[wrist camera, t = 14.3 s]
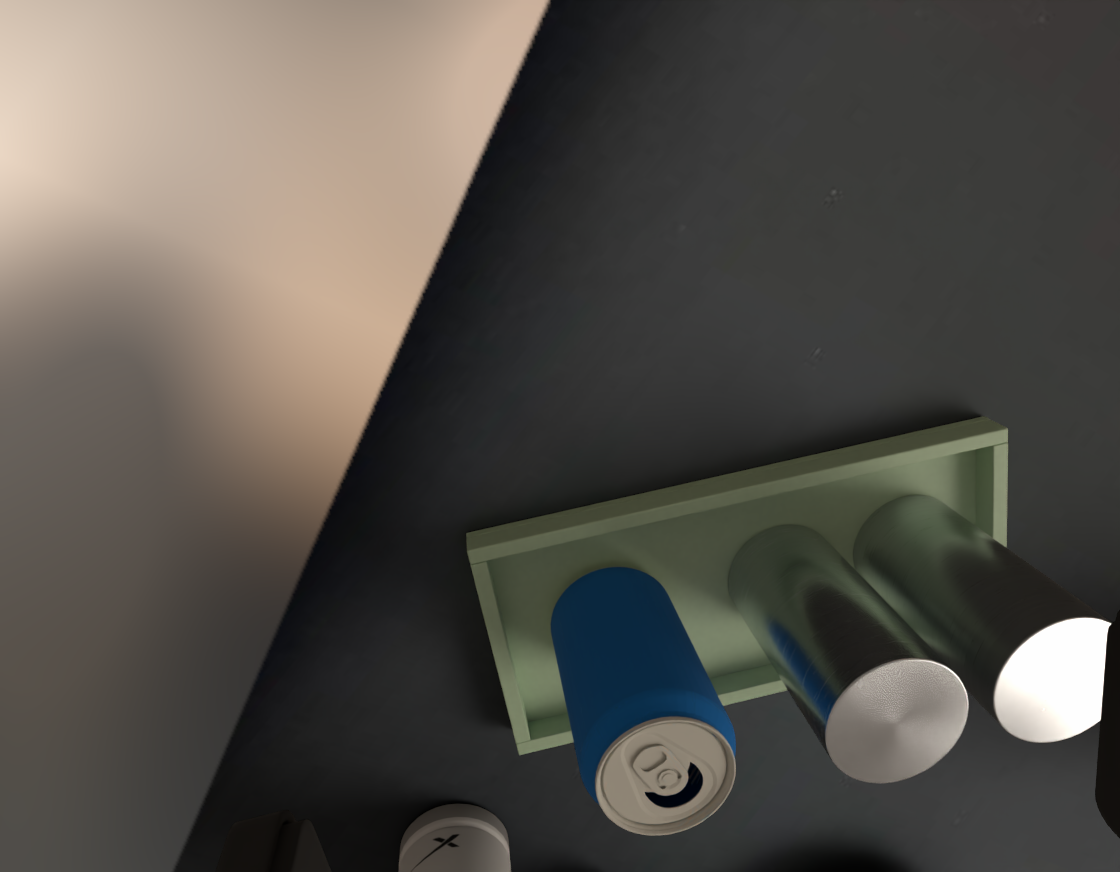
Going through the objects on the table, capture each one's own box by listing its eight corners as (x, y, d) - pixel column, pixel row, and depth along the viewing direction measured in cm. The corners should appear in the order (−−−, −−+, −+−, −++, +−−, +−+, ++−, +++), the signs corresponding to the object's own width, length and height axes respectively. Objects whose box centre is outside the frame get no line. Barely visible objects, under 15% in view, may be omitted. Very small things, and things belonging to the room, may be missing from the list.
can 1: (721, 537, 42) (820, 679, 31) (831, 512, 42) (969, 643, 31) (733, 633, 44) (830, 799, 33) (838, 609, 44) (969, 764, 33)
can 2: (849, 508, 42) (994, 637, 31) (957, 483, 43) (1138, 601, 31) (855, 605, 44) (992, 758, 33) (958, 580, 45) (1128, 723, 34)
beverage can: (593, 686, 44) (643, 870, 33) (524, 606, 42) (551, 774, 30) (691, 620, 43) (775, 784, 32) (626, 535, 41) (692, 680, 30)
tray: (465, 532, 40) (466, 550, 39) (983, 415, 42) (1008, 427, 40) (516, 730, 45) (519, 755, 43) (983, 618, 46) (1005, 637, 45)
